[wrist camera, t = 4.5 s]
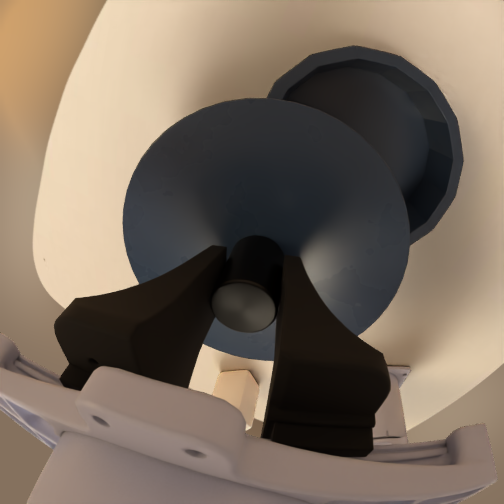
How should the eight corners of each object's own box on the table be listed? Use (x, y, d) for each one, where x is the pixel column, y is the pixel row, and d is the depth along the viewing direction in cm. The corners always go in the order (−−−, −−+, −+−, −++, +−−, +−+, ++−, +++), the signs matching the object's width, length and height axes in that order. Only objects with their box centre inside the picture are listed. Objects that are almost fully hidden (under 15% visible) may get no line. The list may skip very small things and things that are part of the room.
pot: (414, 239, 21) (432, 269, 17) (257, 217, 22) (247, 243, 19) (444, 82, 15) (474, 82, 11) (269, 48, 16) (259, 34, 12)
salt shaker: (249, 367, 31) (231, 441, 23) (261, 387, 33) (247, 457, 24) (217, 370, 32) (195, 439, 24) (231, 389, 34) (213, 455, 26)
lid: (360, 358, 17) (366, 420, 13) (149, 324, 18) (118, 376, 14) (431, 128, 10) (487, 147, 6) (126, 99, 12) (58, 109, 8)
